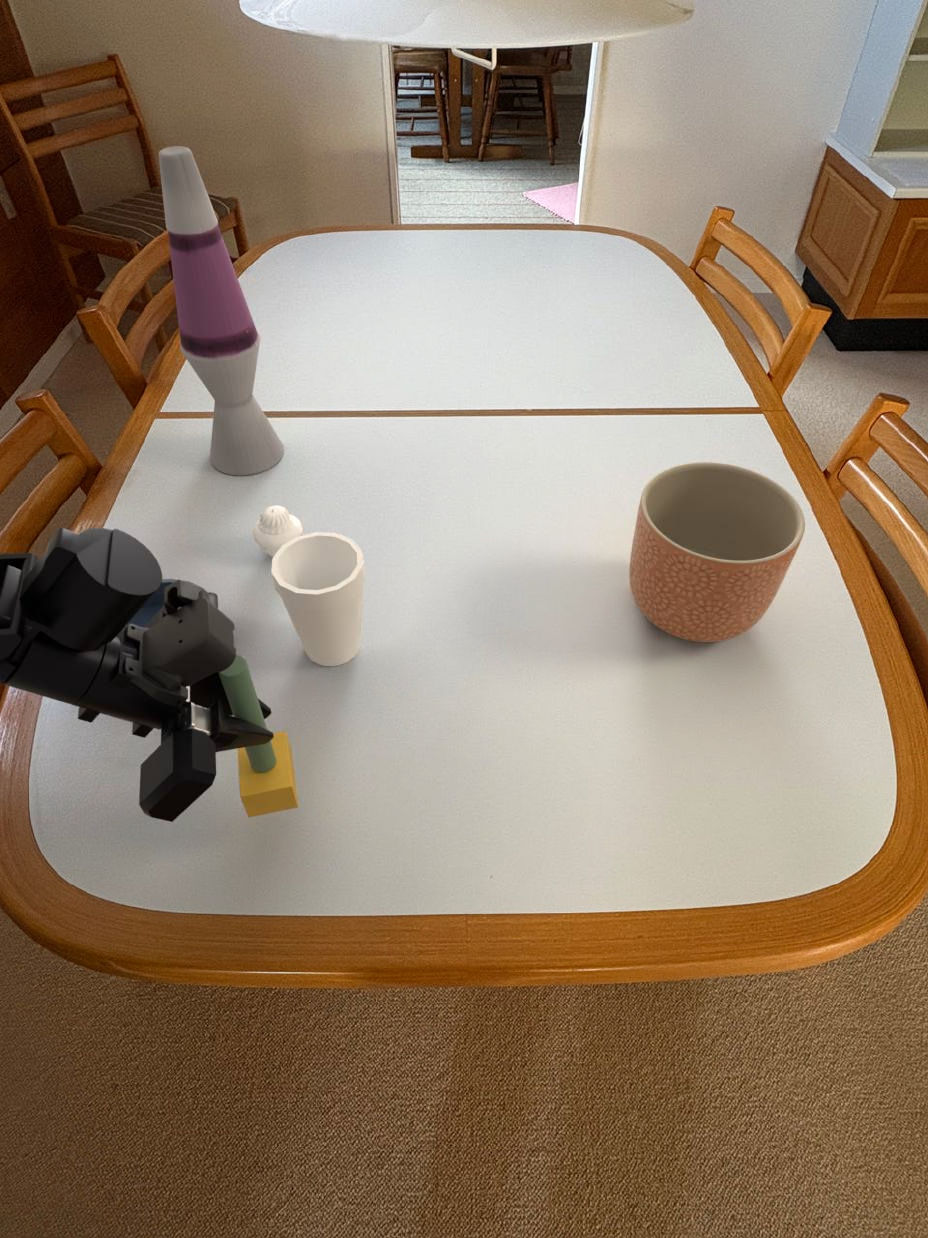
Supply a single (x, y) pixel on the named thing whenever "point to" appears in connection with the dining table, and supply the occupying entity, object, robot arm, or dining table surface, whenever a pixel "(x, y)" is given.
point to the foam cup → (322, 594)
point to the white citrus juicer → (276, 529)
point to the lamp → (215, 320)
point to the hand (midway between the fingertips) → (269, 726)
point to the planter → (711, 549)
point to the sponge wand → (259, 750)
